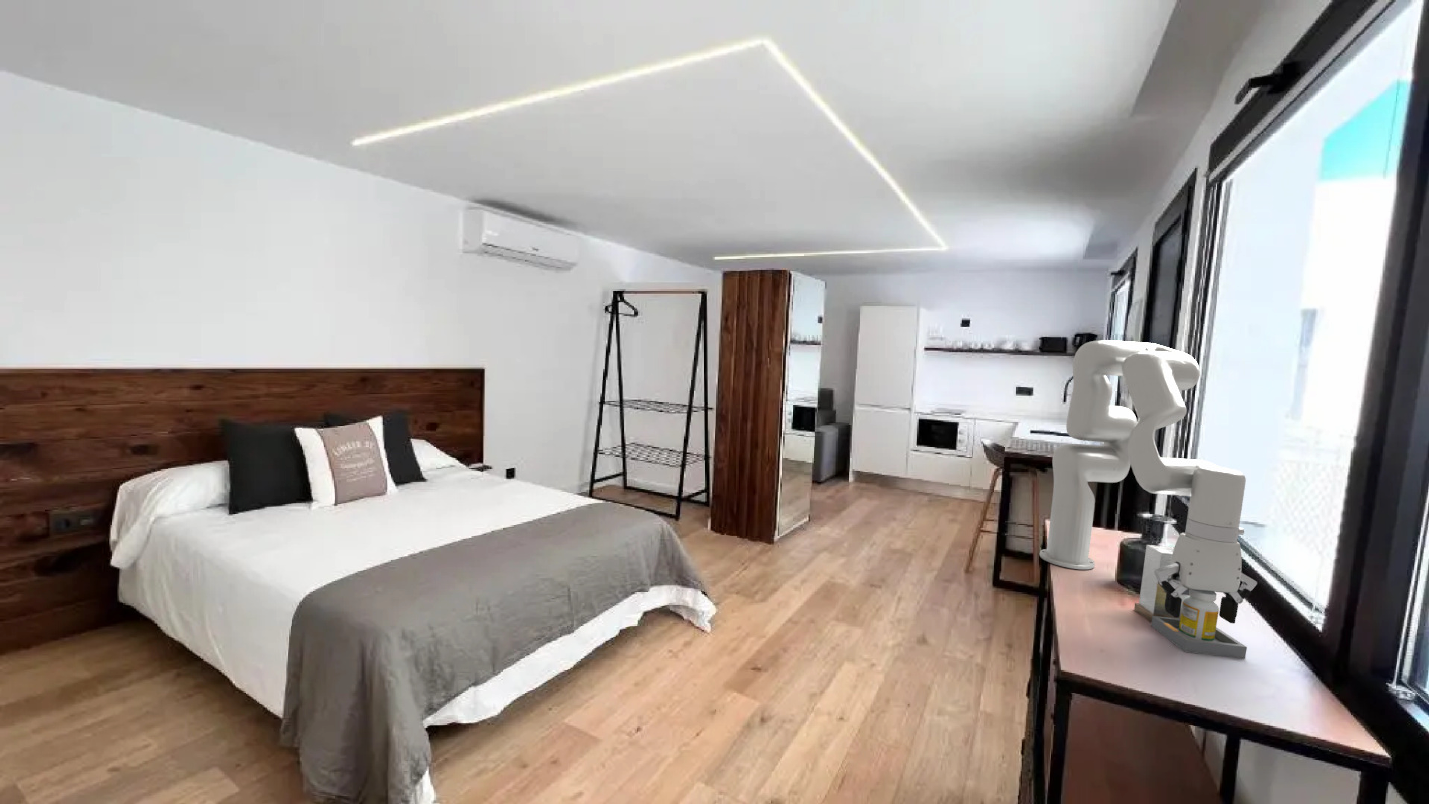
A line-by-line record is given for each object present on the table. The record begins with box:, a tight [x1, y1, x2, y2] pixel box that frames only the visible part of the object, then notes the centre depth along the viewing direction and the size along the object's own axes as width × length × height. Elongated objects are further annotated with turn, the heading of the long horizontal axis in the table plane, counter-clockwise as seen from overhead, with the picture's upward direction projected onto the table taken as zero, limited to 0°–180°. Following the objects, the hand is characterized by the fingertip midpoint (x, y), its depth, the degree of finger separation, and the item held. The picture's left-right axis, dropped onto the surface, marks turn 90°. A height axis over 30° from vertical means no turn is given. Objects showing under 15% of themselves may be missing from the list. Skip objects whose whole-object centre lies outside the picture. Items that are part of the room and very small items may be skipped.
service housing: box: [1133, 544, 1190, 623], centre depth 121 cm, size 6×11×15 cm, turn 82°
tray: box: [1150, 616, 1248, 659], centre depth 112 cm, size 10×10×2 cm
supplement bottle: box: [1179, 589, 1220, 642], centre depth 112 cm, size 5×5×10 cm
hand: (1199, 617), depth 112 cm, fingers open, 9 cm apart
